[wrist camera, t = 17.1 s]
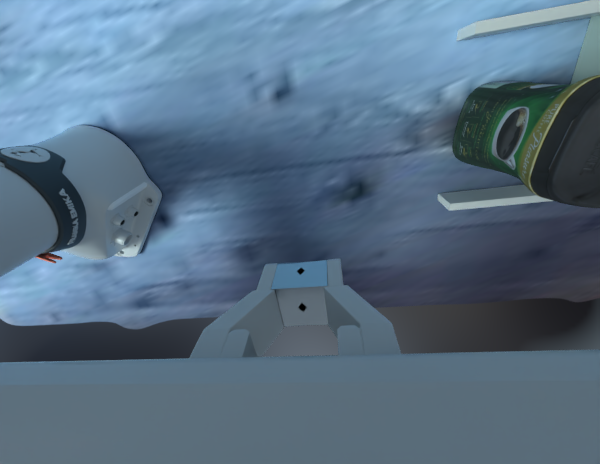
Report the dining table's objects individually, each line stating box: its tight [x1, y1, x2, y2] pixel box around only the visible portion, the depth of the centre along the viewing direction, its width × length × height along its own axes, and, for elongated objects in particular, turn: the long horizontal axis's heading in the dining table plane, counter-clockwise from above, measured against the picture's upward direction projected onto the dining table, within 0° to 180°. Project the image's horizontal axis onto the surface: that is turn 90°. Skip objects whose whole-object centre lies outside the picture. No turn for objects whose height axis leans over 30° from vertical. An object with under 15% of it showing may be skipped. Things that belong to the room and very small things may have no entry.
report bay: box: [438, 0, 600, 211], centre depth 31 cm, size 14×20×4 cm
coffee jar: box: [453, 75, 600, 208], centre depth 25 cm, size 10×8×19 cm
